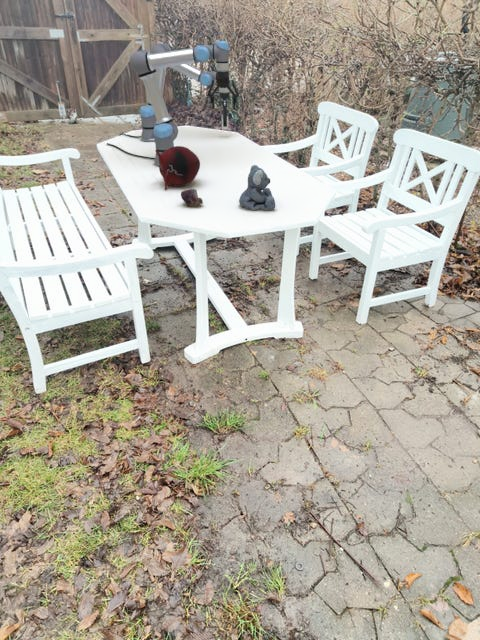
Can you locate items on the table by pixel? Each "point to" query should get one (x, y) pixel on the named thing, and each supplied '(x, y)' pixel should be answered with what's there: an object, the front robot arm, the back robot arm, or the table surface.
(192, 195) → the rock
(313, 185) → the table surface
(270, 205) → the koala plush
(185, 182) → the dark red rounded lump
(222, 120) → the canister
